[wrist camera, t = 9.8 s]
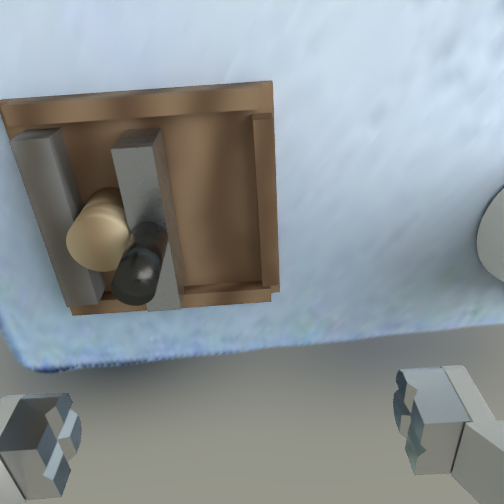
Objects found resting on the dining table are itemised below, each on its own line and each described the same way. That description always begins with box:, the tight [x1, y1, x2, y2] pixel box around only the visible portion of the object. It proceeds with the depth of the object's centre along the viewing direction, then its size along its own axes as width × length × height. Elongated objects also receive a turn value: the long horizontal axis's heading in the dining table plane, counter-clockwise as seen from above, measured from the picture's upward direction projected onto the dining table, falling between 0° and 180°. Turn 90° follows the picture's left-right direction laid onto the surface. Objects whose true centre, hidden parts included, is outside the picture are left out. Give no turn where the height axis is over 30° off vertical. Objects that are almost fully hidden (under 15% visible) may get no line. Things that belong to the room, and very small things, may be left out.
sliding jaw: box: [111, 127, 186, 311], centre depth 35 cm, size 3×15×12 cm, turn 3°
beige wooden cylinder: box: [66, 187, 130, 272], centre depth 38 cm, size 5×5×6 cm
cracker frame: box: [0, 81, 280, 316], centre depth 40 cm, size 22×21×4 cm
